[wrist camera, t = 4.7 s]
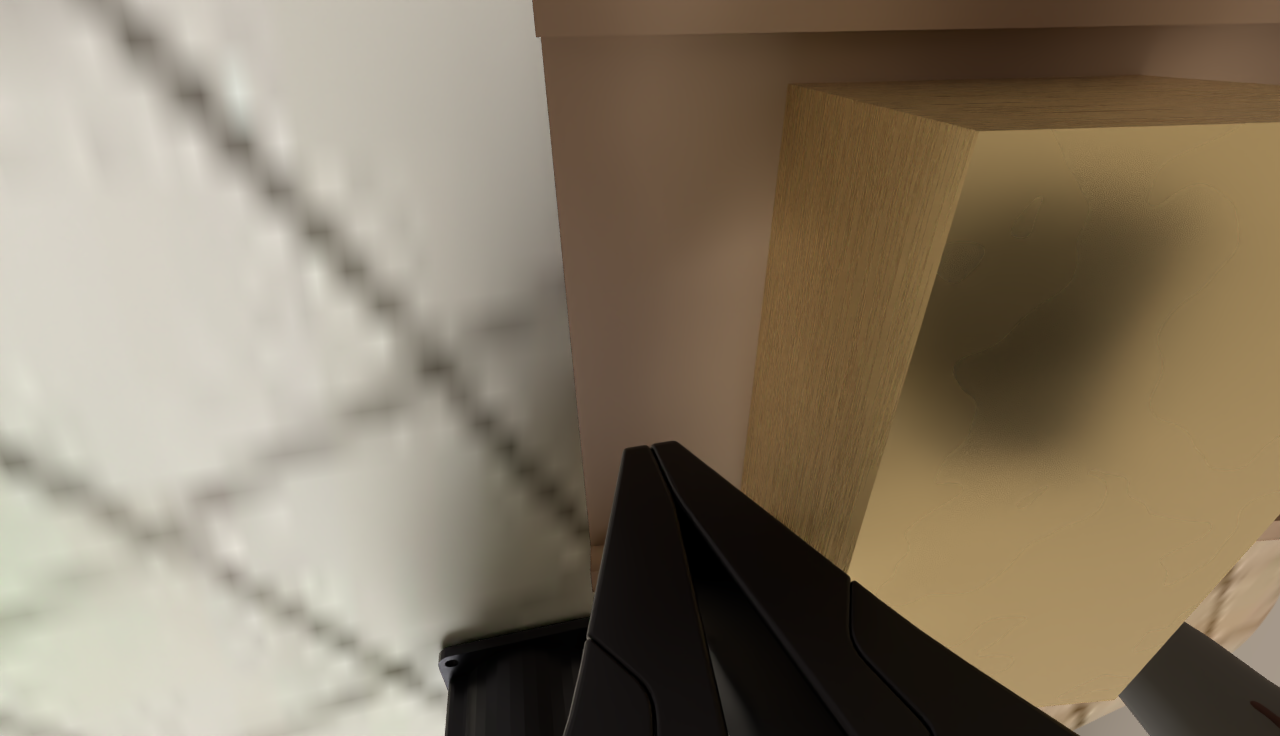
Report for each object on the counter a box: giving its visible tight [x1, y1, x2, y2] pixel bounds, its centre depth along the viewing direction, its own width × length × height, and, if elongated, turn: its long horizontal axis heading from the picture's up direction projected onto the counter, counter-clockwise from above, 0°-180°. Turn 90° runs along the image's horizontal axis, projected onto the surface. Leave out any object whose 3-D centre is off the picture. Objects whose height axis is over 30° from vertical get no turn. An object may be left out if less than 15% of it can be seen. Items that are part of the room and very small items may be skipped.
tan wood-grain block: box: [740, 75, 1280, 707], centre depth 9 cm, size 6×10×5 cm, turn 1°
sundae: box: [1118, 622, 1280, 736], centre depth 22 cm, size 7×7×15 cm
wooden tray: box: [532, 0, 1280, 592], centre depth 12 cm, size 26×15×4 cm, turn 91°
